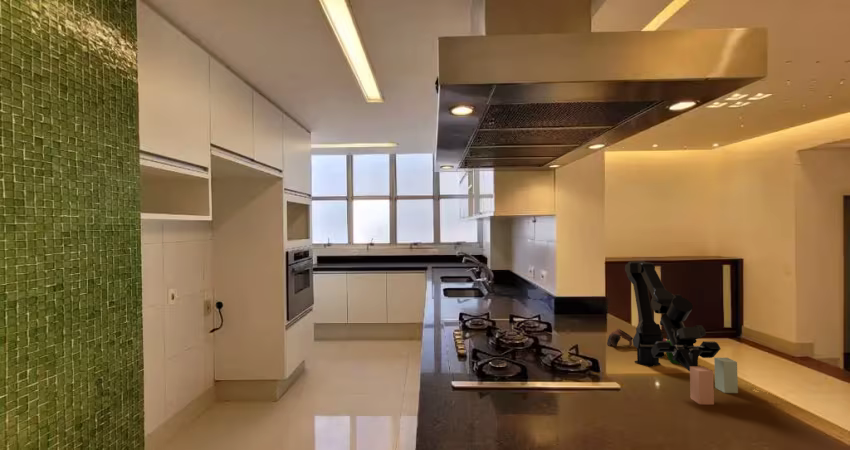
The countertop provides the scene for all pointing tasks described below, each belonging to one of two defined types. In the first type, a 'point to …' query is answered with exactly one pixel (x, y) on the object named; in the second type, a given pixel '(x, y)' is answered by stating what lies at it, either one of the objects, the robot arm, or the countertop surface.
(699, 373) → the terracotta block
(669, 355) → the bell pepper
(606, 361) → the countertop surface
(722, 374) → the sage block
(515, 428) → the countertop surface
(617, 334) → the headphones
